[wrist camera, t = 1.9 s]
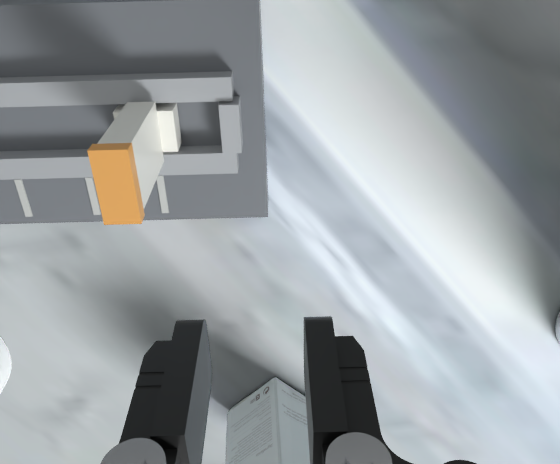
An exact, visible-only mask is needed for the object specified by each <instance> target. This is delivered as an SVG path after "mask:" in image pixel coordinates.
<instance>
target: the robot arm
mask: <svg viewBox="0 0 560 464" xmlns="http://www.w3.org/2000/svg"><path fill="white" fill-rule="evenodd" d="M555 331H556V338H557V340H558V342H559V344H560V312H559V314H558V316H557V320H556V325H555ZM304 380H305V395H306V410H307V425H308V440H309V455H310V464H412V463H410V462H407V461H405V460H403V459H401V458H400V457H398V456H397V455H396V454H394V453H393V452H392V451H391V450H390V449H389V448H388V446H387V445H386V444H385V442H384V440H383V438H382V435H381V432H380V427H379V422H378V417H377V412H376V407H375V403H374V398H373V393H372V388H371V383H370V378H369V373H368V370H367V363H366V358H365V354H364V350H363V349H362V347H361V346H360V345H359V343H358V342H357V341H356V340H355V338H354V337H353V336H335V335H334V328H333V321H332V317H304ZM211 381H212V365H211V356H210V348H209V340H208V332H207V324H206V321H205V320H177V321H176V324H175V328H174V332H173V336H172V341H156V342H155V343H154V344H153V346H152V347H151V348H150V349H149V350H148V352H147V353H146V354H145V355H144V358H143V361H142V365H141V368H140V372H139V376H138V379H137V383H136V389H135V390H134V393H133V397H132V400H131V404H130V407H129V411H128V414H127V418H126V421H125V425H124V429H123V432H122V436H121V439H120V442H119V444H118V445H116V446H115V447H113V448H112V449H111V450H110V451H109V452H108V453H107V454H106V455H105V457H104V458H103V460H102V462H101V464H201V462H202V454H203V446H204V438H205V431H206V423H207V415H208V407H209V399H210V391H211ZM444 464H476V463H473V462H470V461H465V460H454V461H449V462H447V463H444Z"/></svg>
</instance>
